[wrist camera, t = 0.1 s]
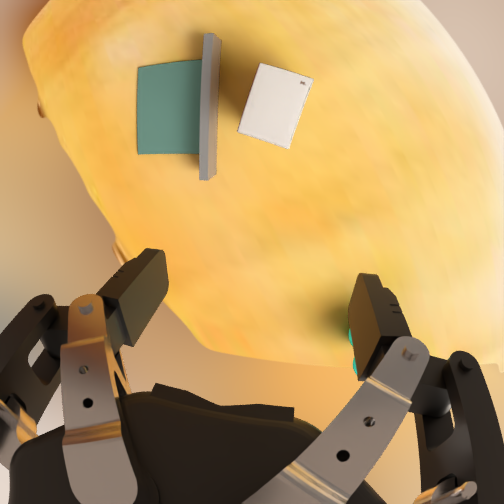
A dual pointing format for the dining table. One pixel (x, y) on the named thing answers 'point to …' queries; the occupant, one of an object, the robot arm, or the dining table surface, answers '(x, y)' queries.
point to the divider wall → (209, 106)
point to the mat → (169, 108)
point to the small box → (274, 105)
